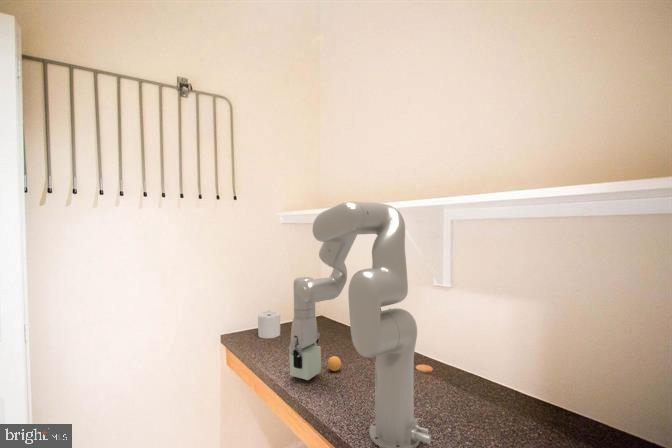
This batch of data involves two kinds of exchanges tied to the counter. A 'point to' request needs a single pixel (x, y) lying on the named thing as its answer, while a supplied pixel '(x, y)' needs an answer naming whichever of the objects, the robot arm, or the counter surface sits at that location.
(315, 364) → the pale sage cube
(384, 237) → the robot arm
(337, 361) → the ball
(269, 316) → the toilet tissue
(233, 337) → the counter surface
